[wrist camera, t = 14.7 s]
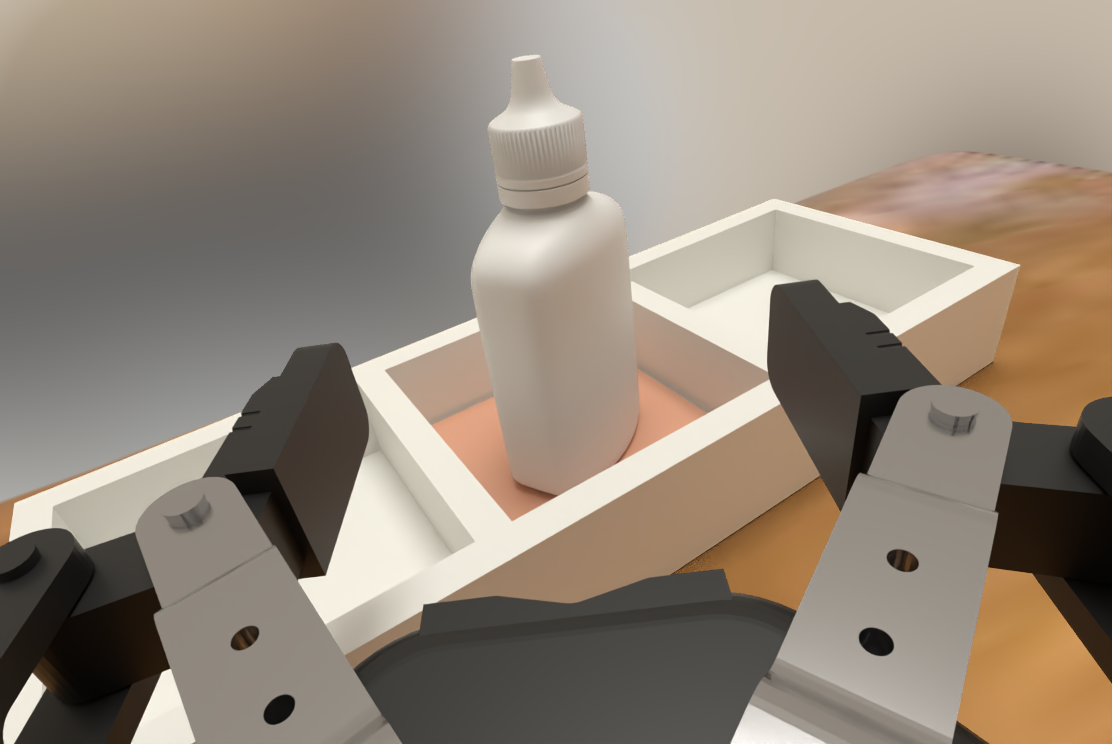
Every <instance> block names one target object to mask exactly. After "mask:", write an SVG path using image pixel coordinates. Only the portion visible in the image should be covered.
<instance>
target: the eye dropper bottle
mask: <svg viewBox="0 0 1112 744" xmlns="http://www.w3.org/2000/svg"><path fill="white" fill-rule="evenodd" d="M511 72H512V73H511V100H510V103H509V105H508V107H507V109H506V110H505V111H504V112H503V113H502V114H500V115H499V116H498V117H496V118H495V119H494V120H492V121H491V122H490V124H489V125H488V127H487V130H488V135H489V141H490V146H491V152H492V158H493V163H494V169H495V175H496V180H497V186H498V191H499V196H500V201H501V203H502V204H504V205H505V206H504V207H503V209H502V211H501V212H500V214H499V215H498V216H497V217H496V219H495V220H494V221H493V223H492V224H491V225H490V227H489V228H488V230H487V232H486V233H485V235H484V237H483V239H482V241H481V243H480V245H479V247H478V250H477V252H476V255H475V258H474V261H473V265H472V270H471V287H472V293H473V298H474V303H475V309H476V314H477V319H478V324H479V329H480V334H481V338H482V343H483V348H484V352H485V357H486V361H487V366H488V371H489V375H490V380H491V385H492V389H493V394H494V398H495V403H496V407H497V412H498V416H499V421H500V426H501V430H502V435H503V439H504V444H505V448H506V453H507V457H508V462H509V466H510V470H511V473H512V477H513V478H514V480H516V481H517V482H519V483H520V484H522V485H525V486H528V487H531V488H534V489H537V490H540V491H543V492H547V493H550V494H553V495H557V496H559V495H561V494H563V493H564V492H566V491H568V490H570V489H572V488H573V487H575V486H577V485H579V484H581V483H583V482H584V481H586V480H588V479H590V478H592V477H593V476H595V475H597V474H599V473H601V472H602V471H604V470H606V469H608V468H610V467H612V466H613V465H614V464H615V463H616V462H617V461H618V460H619V459H620V457H621V456H622V455H623V453H624V452H625V450H626V449H627V447H628V445H629V443H630V441H631V439H632V437H633V435H634V432H635V429H636V426H637V421H638V416H639V387H638V373H637V360H636V346H635V332H634V318H633V305H632V292H631V279H630V266H629V256H628V244H627V234H626V225H625V219H624V215H623V212H622V210H621V208H620V206H619V205H618V204H617V203H616V202H615V201H614V200H613V199H611V198H610V197H609V196H607V195H604V194H601V193H597V192H592V191H589V190H590V182H589V174H588V173H589V172H588V163H587V153H586V143H585V133H584V124H583V115H582V113H581V112H580V111H579V110H578V109H576V108H574V107H571V106H568V105H565V104H562V103H561V102H559V101H558V100H557V99H556V98H555V97H554V95H553V94H552V91H551V89H550V86H549V82H548V79H547V76H546V73H545V69H544V66H543V63H542V60H541V56H540V55H528V56H522V57H517V58H514V59H512V70H511Z"/></svg>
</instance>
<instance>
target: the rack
mask: <svg viewBox="0 0 1112 744" xmlns="http://www.w3.org/2000/svg"><path fill="white" fill-rule="evenodd" d="M629 266H630V279H631V292H632V305H633V318H634V332H635V346H636V360H637V373H638V387H639V416H638V421H637V426H636V429H635V432H634V435H633V437H632V439H631V441H630V443H629V445H628V447H627V449H626V450H625V452H624V453H623V455H622V456H621V457H620V459H619V460H618V461H617V462H616V463H615V464H614V465H613V466H612V467H610V468H608V469H606V470H604V471H602V472H601V473H599V474H597V475H595V476H593V477H592V478H590V479H588V480H586V481H584V482H583V483H581V484H579V485H577V486H575V487H573V488H572V489H570V490H568V491H566V492H564V493H563V494H561V495H559V496H557V495H553V494H550V493H547V492H543V491H540V490H537V489H534V488H531V487H528V486H525V485H522V484H520V483H519V482H517V481H516V480H514V478H513V477H512V473H511V470H510V466H509V462H508V457H507V453H506V448H505V444H504V439H503V435H502V430H501V426H500V421H499V416H498V412H497V407H496V403H495V398H494V394H493V389H492V385H491V380H490V375H489V371H488V366H487V361H486V357H485V352H484V348H483V343H482V338H481V334H480V329H479V324H478V319H477V318H475V319H473V320H470V321H468V322H465V323H463V324H460V325H458V326H455V327H453V328H450V329H448V330H445V331H443V332H440V333H438V334H435V335H433V336H430V337H428V338H425V339H423V340H420V341H418V342H415V343H413V344H410V345H408V346H405V347H403V348H400V349H398V350H395V351H393V352H390V353H388V354H385V355H383V356H380V357H378V358H375V359H373V360H370V361H368V362H366V363H363V364H361V365H358V366H355V367H353V368H351V369H352V371H353V374H354V377H355V380H356V383H357V385H358V388H359V391H360V394H361V396H362V399H363V402H364V405H365V408H366V411H367V415H368V421H369V439H368V443H367V446H366V449H365V453H364V456H363V459H362V462H361V465H360V468H359V472H358V475H357V478H356V481H355V484H354V488H353V491H352V494H351V497H350V500H349V503H348V507H347V510H346V513H345V516H344V519H343V523H342V526H341V529H340V532H339V535H338V538H337V542H336V545H335V548H334V551H333V554H332V557H331V561H330V564H329V567H328V570H327V573H326V576H320V577H312V578H304V579H298V582H299V584H300V585H301V587H302V589H303V590H304V592H305V593H306V595H307V597H308V598H309V600H310V601H311V603H312V604H313V606H314V608H315V609H316V611H317V612H318V614H319V616H320V617H321V619H322V620H323V622H324V624H325V625H326V627H327V628H328V630H329V632H330V633H331V635H332V636H333V638H334V640H335V641H336V643H337V644H338V646H339V648H340V649H341V651H342V652H343V654H344V655H345V657H346V659H347V660H348V662H349V663H350V665H351V667H352V668H353V669H354V668H355V667H356V666H357V665H358V664H360V663H361V662H362V661H363V660H365V659H366V658H368V657H369V656H370V655H372V654H373V653H374V652H376V651H377V650H379V649H381V648H382V647H384V646H386V645H387V644H389V643H391V642H392V641H394V640H396V639H398V638H400V637H402V636H405V635H407V634H409V633H411V632H414V631H416V630H419V629H420V624H421V617H422V611H423V604H430V603H439V602H447V601H456V600H464V599H473V598H481V597H489V596H504V597H513V598H522V599H531V600H541V601H550V602H559V603H577V602H580V601H583V600H586V599H589V598H592V597H595V596H598V595H601V594H603V593H606V592H609V591H612V590H615V589H618V588H620V587H623V586H626V585H629V584H632V583H635V582H638V581H640V580H643V579H646V578H650V577H658V576H666V575H670V574H672V573H674V572H675V571H677V570H678V569H680V568H681V567H683V566H684V565H686V564H687V563H689V562H690V561H692V560H693V559H695V558H696V557H698V556H699V555H701V554H702V553H704V552H705V551H707V550H708V549H710V548H711V547H713V546H714V545H716V544H717V543H719V542H720V541H722V540H723V539H725V538H726V537H728V536H730V535H731V534H733V533H734V532H736V531H737V530H739V529H740V528H742V527H743V526H745V525H746V524H748V523H749V522H751V521H752V520H754V519H755V518H757V517H758V516H760V515H761V514H763V513H764V512H766V511H767V510H769V509H770V508H772V507H773V506H775V505H776V504H778V503H779V502H781V501H782V500H784V499H786V498H787V497H789V496H790V495H792V494H793V493H795V492H796V491H798V490H799V489H801V488H802V487H804V486H805V485H807V484H808V483H810V482H811V481H813V480H814V479H816V478H817V477H819V476H820V474H819V472H818V470H817V468H816V467H815V465H814V463H813V461H812V459H811V458H810V456H809V454H808V452H807V450H806V449H805V447H804V445H803V443H802V441H801V440H800V438H799V436H798V434H797V432H796V431H795V429H794V427H793V425H792V423H791V422H790V420H789V418H788V416H787V415H786V413H785V411H784V409H783V407H782V406H781V404H780V402H779V400H778V398H777V397H776V395H775V393H774V391H773V389H772V386H771V383H770V380H769V375H768V369H767V347H768V329H769V311H770V296H771V291H772V288H773V287H774V285H777V284H785V283H792V282H800V281H807V280H815V279H817V280H819V281H820V282H821V283H822V284H823V285H824V286H825V288H826V289H827V290H828V291H829V292H830V293H831V294H832V296H833V297H834V298H835V299H836V300H837V301H838V302H839V303H844V302H852V303H854V304H856V305H858V306H860V307H862V308H864V309H866V310H868V311H870V312H872V313H874V314H875V315H876V316H877V317H878V318H879V319H880V320H881V321H882V322H883V323H884V324H885V325H886V326H887V327H888V328H889V329H890V333H893V334H894V335H895V336H896V337H897V338H898V339H899V340H900V341H901V342H902V346H906V347H907V348H908V350H909V351H910V352H911V353H912V354H913V355H914V356H915V357H916V358H917V359H918V360H919V361H920V362H921V363H922V364H923V365H924V366H925V367H926V369H927V370H928V371H929V372H930V373H931V374H932V375H933V376H934V377H935V378H936V379H937V380H938V381H939V382H940V383H941V384H942V385H949V386H957V385H958V384H960V383H961V382H963V381H964V380H966V379H967V378H969V377H970V376H972V375H973V374H975V373H976V372H978V371H979V370H981V369H982V368H984V367H985V366H987V365H988V364H990V363H991V362H993V361H994V357H995V354H996V350H997V347H998V343H999V340H1000V336H1001V332H1002V329H1003V325H1004V322H1005V318H1006V315H1007V311H1008V308H1009V304H1010V301H1011V297H1012V293H1013V290H1014V286H1015V283H1016V279H1017V276H1018V272H1019V269H1020V265H1018V264H1015V263H1011V262H1007V261H1004V260H1000V259H996V258H992V257H989V256H985V255H981V254H978V253H974V252H970V251H966V250H963V249H959V248H955V247H952V246H948V245H944V244H941V243H937V242H933V241H929V240H926V239H922V238H918V237H915V236H911V235H907V234H903V233H900V232H896V231H892V230H889V229H885V228H881V227H878V226H874V225H870V224H866V223H863V222H859V221H855V220H852V219H848V218H844V217H840V216H837V215H833V214H829V213H826V212H822V211H818V210H815V209H811V208H807V207H803V206H800V205H796V204H792V203H789V202H785V201H781V200H777V199H772V200H769V201H767V202H764V203H762V204H759V205H757V206H754V207H752V208H749V209H747V210H744V211H742V212H739V213H737V214H734V215H732V216H729V217H727V218H725V219H722V220H719V221H717V222H714V223H712V224H709V225H707V226H704V227H702V228H699V229H697V230H694V231H692V232H690V233H687V234H685V235H682V236H680V237H677V238H675V239H672V240H670V241H667V242H665V243H663V244H660V245H657V246H655V247H652V248H650V249H647V250H645V251H642V252H640V253H637V254H635V255H632V256H630V257H629ZM238 417H241V413H238V414H236V415H233V416H231V417H228V418H226V419H223V420H221V421H218V422H216V423H213V424H211V425H208V426H206V427H203V428H201V429H198V430H196V431H193V432H191V433H188V434H186V435H183V436H181V437H178V438H176V439H173V440H171V441H168V442H166V443H163V444H161V445H158V446H156V447H153V448H151V449H148V450H146V451H143V452H141V453H138V454H136V455H134V456H131V457H129V458H126V459H124V460H121V461H119V462H116V463H114V464H111V465H109V466H106V467H104V468H101V469H99V470H96V471H94V472H91V473H89V474H86V475H84V476H81V477H79V478H76V479H74V480H71V481H69V482H66V483H64V484H61V485H59V486H56V487H54V488H51V489H49V490H46V491H44V492H41V493H39V494H36V495H34V496H31V497H29V498H26V499H24V500H21V501H19V502H16V503H14V510H13V518H12V525H11V532H10V539H9V542H10V541H12V540H14V539H16V538H18V537H21V536H23V535H26V534H28V533H31V532H35V531H38V530H43V529H49V528H62V529H66V530H68V531H70V532H71V533H72V534H73V536H74V537H75V538H76V539H77V541H78V542H79V543H80V545H81V546H82V547H83V549H86V548H89V547H92V546H95V545H98V544H101V543H104V542H107V541H110V540H113V539H116V538H118V537H121V536H124V535H127V534H130V533H133V532H135V529H136V525H137V522H138V520H139V518H140V517H141V515H142V514H143V512H144V511H145V510H146V509H147V508H148V507H149V506H150V505H151V504H152V503H153V502H154V501H155V500H157V499H158V498H159V497H161V496H162V495H164V494H165V493H167V492H168V491H170V490H172V489H174V488H175V487H178V486H180V485H182V484H184V483H187V482H190V481H193V480H197V479H200V478H202V477H203V475H204V474H205V472H206V470H207V469H208V467H209V465H210V464H211V462H212V460H213V459H214V457H215V455H216V454H217V452H218V450H219V449H220V447H221V446H222V444H223V442H224V441H225V439H226V437H227V436H228V434H229V432H232V427H233V426H234V424H235V422H236V421H237V419H238ZM46 688H47V687H46V686H45V685H44V684H43V683H42V682H41V681H40V680H39V679H38V678H37V677H36V676H35V675H34V674H33V673H32V674H31V676H30V678H29V679H28V681H27V682H26V684H25V686H24V687H23V689H22V691H21V692H20V694H19V695H18V697H17V699H16V700H15V702H14V703H13V705H12V707H11V708H10V710H9V712H8V714H7V717H6V720H5V723H4V729H3V740H4V744H14V743H15V741H16V739H17V738H18V736H19V734H20V733H21V731H22V729H23V727H24V726H25V724H26V722H27V721H28V719H29V717H30V715H31V714H32V712H33V710H34V709H35V707H36V705H37V703H38V702H39V700H40V698H41V697H42V695H43V693H44V691H45V690H46ZM131 744H196V741H195V739H194V736H193V733H192V730H191V727H190V724H189V721H188V718H187V715H186V712H185V709H184V706H183V703H182V700H181V697H180V695H179V692H178V689H177V686H176V683H175V680H174V677H173V674H172V671H171V669H169V670H166V671H164V672H162V673H161V676H160V678H159V680H158V683H157V685H156V687H155V690H154V692H153V694H152V696H151V699H150V701H149V703H148V706H147V708H146V710H145V712H144V715H143V717H142V719H141V722H140V724H139V726H138V728H137V731H136V733H135V735H134V738H133V740H132V742H131Z"/></svg>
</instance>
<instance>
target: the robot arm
mask: <svg viewBox="0 0 1112 744" xmlns="http://www.w3.org/2000/svg"><path fill="white" fill-rule="evenodd" d="M767 369H768V375H769V380H770V383H771V386H772V389H773V391H774V393H775V395H776V397H777V398H778V400H779V402H780V404H781V406H782V407H783V409H784V411H785V413H786V415H787V416H788V418H789V420H790V422H791V423H792V425H793V427H794V429H795V431H796V432H797V434H798V436H799V438H800V440H801V441H802V443H803V445H804V447H805V449H806V450H807V452H808V454H809V456H810V458H811V459H812V461H813V463H814V465H815V467H816V468H817V470H818V472H819V474H820V476H821V477H822V479H823V481H824V483H825V485H826V486H827V488H828V490H829V492H830V493H831V495H832V497H833V499H834V501H835V502H836V504H837V506H838V508H839V510H840V511H841V513H840V515H839V517H838V520H837V522H836V524H835V526H834V529H833V531H832V533H831V535H830V538H829V540H828V542H827V544H826V547H825V549H824V551H823V553H822V556H821V558H820V560H819V562H818V565H817V567H816V569H815V571H814V574H813V576H812V578H811V580H810V583H809V585H808V587H807V589H806V592H805V594H804V596H803V598H802V601H801V603H800V605H799V608H798V610H797V611H796V610H793V609H791V608H789V607H786V606H784V605H782V604H779V603H776V602H773V601H770V600H767V599H764V598H760V597H756V596H751V595H746V594H741V593H733V592H730V588H729V585H728V582H727V579H726V576H725V573H724V570H723V569H717V570H709V571H700V572H692V573H683V574H675V575H666V576H658V577H650V578H646V579H643V580H640V581H638V582H635V583H632V584H629V585H626V586H623V587H620V588H618V589H615V590H612V591H609V592H606V593H603V594H601V595H598V596H595V597H592V598H589V599H586V600H583V601H580V602H577V603H559V602H550V601H541V600H531V599H522V598H513V597H504V596H489V597H481V598H473V599H464V600H456V601H447V602H439V603H430V604H423V611H422V617H421V624H420V629H419V630H416V631H414V632H411V633H409V634H407V635H405V636H402V637H400V638H398V639H396V640H394V641H392V642H391V643H389V644H387V645H386V646H384V647H382V648H381V649H379V650H377V651H376V652H374V653H373V654H372V655H370V656H369V657H368V658H366V659H365V660H363V661H362V662H361V663H360V664H358V665H357V666H356V667H355V668H354V669H353V668H352V667H351V665H350V663H349V662H348V660H347V659H346V657H345V655H344V654H343V652H342V651H341V649H340V648H339V646H338V644H337V643H336V641H335V640H334V638H333V636H332V635H331V633H330V632H329V630H328V628H327V627H326V625H325V624H324V622H323V620H322V619H321V617H320V616H319V614H318V612H317V611H316V609H315V608H314V606H313V604H312V603H311V601H310V600H309V598H308V597H307V595H306V593H305V592H304V590H303V589H302V587H301V585H300V584H299V582H298V579H304V578H312V577H320V576H326V573H327V570H328V567H329V564H330V561H331V557H332V554H333V551H334V548H335V545H336V542H337V538H338V535H339V532H340V529H341V526H342V523H343V519H344V516H345V513H346V510H347V507H348V503H349V500H350V497H351V494H352V491H353V488H354V484H355V481H356V478H357V475H358V472H359V468H360V465H361V462H362V459H363V456H364V453H365V449H366V446H367V443H368V439H369V421H368V415H367V411H366V408H365V405H364V402H363V399H362V396H361V394H360V391H359V388H358V385H357V383H356V380H355V377H354V374H353V371H352V369H351V366H350V363H349V360H348V357H347V355H346V352H345V350H344V349H343V347H342V346H341V345H340V344H339V343H330V344H324V345H316V346H308V347H301V348H297V349H296V350H295V351H294V353H293V355H292V356H291V358H290V360H289V362H288V363H287V365H286V367H285V369H284V370H283V372H282V374H281V376H278V377H273V378H271V379H270V380H269V381H268V382H267V383H265V384H264V385H263V386H262V387H261V388H260V389H258V390H257V391H256V392H255V393H254V394H253V395H252V396H251V398H250V399H249V401H248V403H247V404H246V406H245V408H244V409H243V411H242V412H241V417H238V419H237V421H236V422H235V424H234V426H233V427H232V432H229V434H228V436H227V437H226V439H225V441H224V442H223V444H222V446H221V447H220V449H219V450H218V452H217V454H216V455H215V457H214V459H213V460H212V462H211V464H210V465H209V467H208V469H207V470H206V472H205V474H204V475H203V477H202V478H200V479H197V480H193V481H190V482H187V483H184V484H182V485H180V486H178V487H175V488H174V489H172V490H170V491H168V492H167V493H165V494H164V495H162V496H161V497H159V498H158V499H157V500H155V501H154V502H153V503H152V504H151V505H150V506H149V507H148V508H147V509H146V510H145V511H144V512H143V514H142V515H141V517H140V518H139V520H138V522H137V525H136V529H135V532H133V533H130V534H127V535H124V536H121V537H118V538H116V539H113V540H110V541H107V542H104V543H101V544H98V545H95V546H92V547H89V548H86V549H83V547H82V546H81V545H80V543H79V542H78V541H77V539H76V538H75V537H74V536H73V534H72V533H71V532H70V531H68V530H66V529H62V528H49V529H43V530H38V531H35V532H31V533H28V534H26V535H23V536H21V537H18V538H16V539H14V540H12V541H10V542H8V543H6V544H5V545H3V546H1V547H0V744H4V740H3V729H4V723H5V720H6V717H7V714H8V712H9V710H10V708H11V707H12V705H13V703H14V702H15V700H16V699H17V697H18V695H19V694H20V692H21V691H22V689H23V687H24V686H25V684H26V682H27V681H28V679H29V678H30V676H31V674H32V673H33V674H34V675H35V676H36V677H37V678H38V679H39V680H40V681H41V682H42V683H43V684H44V685H45V686H46V687H47V688H46V690H45V691H44V693H43V695H42V697H41V698H40V700H39V702H38V703H37V705H36V707H35V709H34V710H33V712H32V714H31V715H30V717H29V719H28V721H27V722H26V724H25V726H24V727H23V729H22V731H21V733H20V734H19V736H18V738H17V739H16V741H15V743H14V744H131V742H132V740H133V738H134V735H135V733H136V731H137V728H138V726H139V724H140V722H141V719H142V717H143V715H144V712H145V710H146V708H147V706H148V703H149V701H150V699H151V696H152V694H153V692H154V690H155V687H156V685H157V683H158V680H159V678H160V676H161V673H162V672H164V671H166V670H169V669H171V671H172V674H173V677H174V680H175V683H176V686H177V689H178V692H179V695H180V697H181V700H182V703H183V706H184V709H185V712H186V715H187V718H188V721H189V724H190V727H191V730H192V733H193V736H194V739H195V741H196V744H989V743H988V742H986V741H985V740H983V739H982V738H980V737H979V736H978V735H976V734H975V733H973V732H972V731H971V730H969V729H968V728H966V727H965V726H964V725H962V724H961V723H959V722H958V721H957V716H958V711H959V706H960V701H961V696H962V691H963V686H964V681H965V677H966V672H967V667H968V662H969V657H970V652H971V647H972V642H973V637H974V633H975V628H976V623H977V618H978V613H979V608H980V603H981V598H982V593H983V588H984V584H985V579H986V574H987V569H988V567H990V568H997V569H1004V570H1012V571H1019V572H1026V573H1033V575H1034V577H1035V578H1036V579H1037V581H1038V582H1039V583H1040V585H1041V586H1042V588H1043V589H1044V590H1045V592H1046V593H1047V594H1048V596H1049V597H1050V599H1051V600H1052V601H1053V603H1054V604H1055V606H1056V607H1057V608H1058V610H1059V611H1060V612H1061V614H1062V615H1063V617H1064V618H1065V619H1066V621H1067V622H1068V624H1069V625H1070V626H1071V628H1072V629H1073V630H1074V632H1075V633H1076V635H1077V636H1078V637H1079V639H1080V640H1081V642H1082V643H1083V644H1084V646H1085V647H1086V648H1087V650H1088V651H1089V653H1090V654H1091V655H1092V657H1093V658H1094V659H1095V661H1096V662H1097V664H1098V665H1099V666H1100V668H1101V669H1102V671H1103V672H1104V673H1105V675H1106V676H1107V677H1108V679H1109V680H1110V682H1111V683H1112V397H1107V398H1101V399H1098V400H1095V401H1093V402H1091V403H1089V404H1088V405H1087V406H1085V408H1084V409H1083V411H1082V414H1081V416H1080V419H1079V421H1078V424H1077V427H1071V426H1058V425H1045V424H1032V423H1021V422H1013V421H1012V419H1011V416H1010V415H1009V413H1008V412H1007V410H1006V409H1005V408H1004V407H1003V406H1002V405H1000V404H999V403H998V402H996V401H995V400H993V399H991V398H990V397H988V396H986V395H983V394H981V393H979V392H976V391H973V390H970V389H966V388H962V387H956V386H949V385H942V384H941V383H940V382H939V381H938V380H937V379H936V378H935V377H934V376H933V375H932V374H931V373H930V372H929V371H928V370H927V369H926V367H925V366H924V365H923V364H922V363H921V362H920V361H919V360H918V359H917V358H916V357H915V356H914V355H913V354H912V353H911V352H910V351H909V350H908V348H907V347H906V346H902V342H901V341H900V340H899V339H898V338H897V337H896V336H895V335H894V334H893V333H890V329H889V328H888V327H887V326H886V325H885V324H884V323H883V322H882V321H881V320H880V319H879V318H878V317H877V316H876V315H875V314H874V313H872V312H870V311H868V310H866V309H864V308H862V307H860V306H858V305H856V304H854V303H852V302H844V303H839V302H838V301H837V300H836V299H835V298H834V297H833V296H832V294H831V293H830V292H829V291H828V290H827V289H826V288H825V286H824V285H823V284H822V283H821V282H820V281H819V280H817V279H815V280H807V281H800V282H792V283H785V284H777V285H774V287H773V288H772V291H771V296H770V311H769V329H768V347H767Z"/></svg>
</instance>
